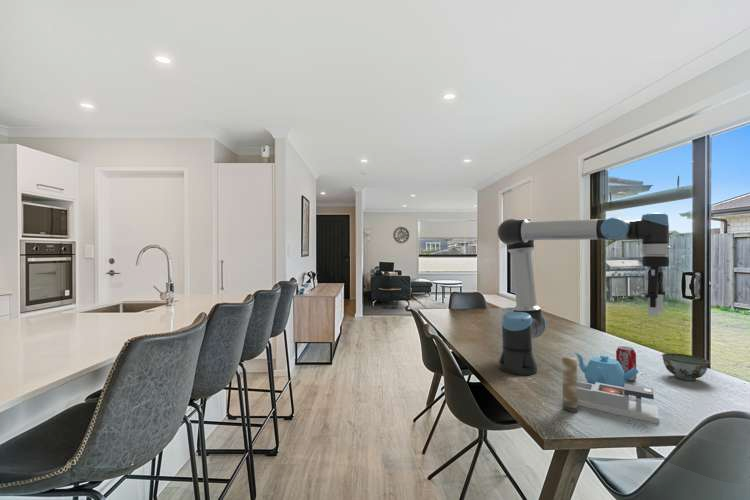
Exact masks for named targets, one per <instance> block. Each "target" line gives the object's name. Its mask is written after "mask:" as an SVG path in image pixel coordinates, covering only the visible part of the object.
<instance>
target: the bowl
mask: <svg viewBox="0 0 750 500" xmlns="http://www.w3.org/2000/svg"><path fill="white" fill-rule="evenodd" d="M661 357H662V361H663V364H664V367H665V368H666V369H667V370H668V372H670V373H671V375H672V374H673V376H674V378H676V379H678V380H681V381H684V382H685V381H686V382H695V381H696V379H700V378H701V377H703V376H704V375H705V374H706V372H707V371H708V366H709V364H710V362H709V360H707V359H706V358H702V357H700V356H696V355H690V354H685V353H684V354H683V353H677V352H676V353H674V352H672V353H671V352H670V353H669V352H668V353H667V352H666V353H662V354H661ZM667 370H666V371H667Z"/></svg>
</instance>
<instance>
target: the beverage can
mask: <svg viewBox="0 0 750 500" xmlns="http://www.w3.org/2000/svg"><path fill="white" fill-rule="evenodd" d="M615 360H617V361H619V363H620V365H621V366H622V368H623V371H624V374H625V373H626V372H628V371H629V370H631V369H632V368H633V367H634V368H635V369H637V353H636V351H635V348H633V347H630V346H625V345H623V346H622V345H621V346H617V349H616V350H615ZM636 380H637V374H636V375H634V376H633V377H631V378H629V379H628V380H626V381H627V382H633V381H636Z"/></svg>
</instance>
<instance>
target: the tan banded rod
mask: <svg viewBox="0 0 750 500" xmlns="http://www.w3.org/2000/svg"><path fill="white" fill-rule="evenodd" d="M561 363H562V365H561V366H562V367H561V369H562V371H561V372H562V373H561V374H562V375H561V376H562V377H561V378H562V409H563V411H565V412H567V413H573V414H575V413H578V412H579V408H578V407H579V405H578V398H577V381H578V365H577V364H578V360H577V358H576V357H574V356H562V357H561Z"/></svg>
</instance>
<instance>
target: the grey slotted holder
mask: <svg viewBox="0 0 750 500" xmlns="http://www.w3.org/2000/svg"><path fill="white" fill-rule="evenodd" d="M604 388H610V389H614V390H617V391H619V392H620V395H619V394H614V393H609V392H604V391H602V389H604ZM577 398H578V407H579V406H580V407H583V408H588V409H592V410H595V411H596V410H598V411H601V412H606V413H611V414H615V415H619V416H624V417H629V418H632V419H637V420H642V421H645V422H650V423H653V424H660V414H659V406H657V405H654V404H648V403H643V402H642V397H637V396H635V400H630V395H627V394H624V386H623V387H619V386H613V385H608V384H603V383H597V382H596V383H595V384H590V383H588V382H583V381H578V380H577Z"/></svg>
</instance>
